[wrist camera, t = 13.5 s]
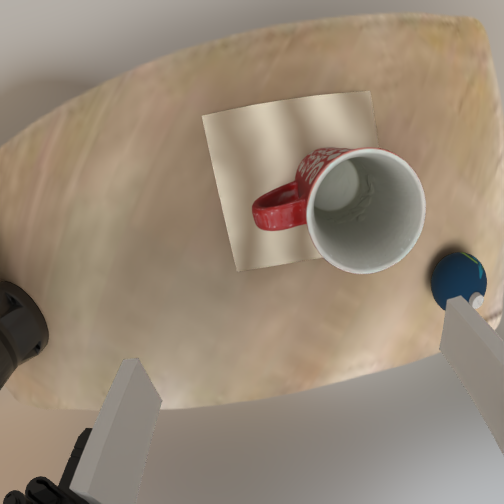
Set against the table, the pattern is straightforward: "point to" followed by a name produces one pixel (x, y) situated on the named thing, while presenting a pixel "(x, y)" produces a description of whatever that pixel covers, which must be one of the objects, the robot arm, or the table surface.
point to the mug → (350, 207)
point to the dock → (278, 163)
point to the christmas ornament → (459, 280)
